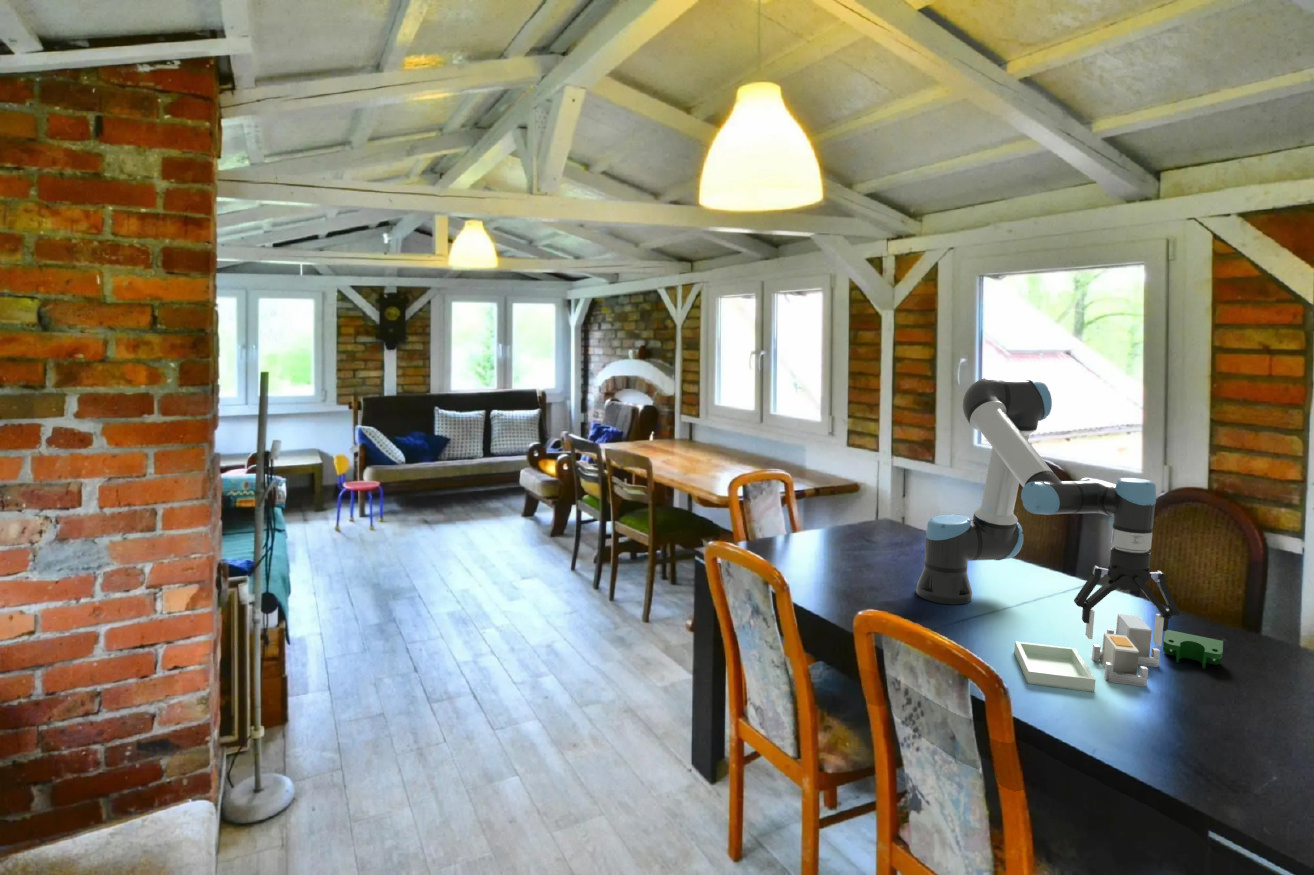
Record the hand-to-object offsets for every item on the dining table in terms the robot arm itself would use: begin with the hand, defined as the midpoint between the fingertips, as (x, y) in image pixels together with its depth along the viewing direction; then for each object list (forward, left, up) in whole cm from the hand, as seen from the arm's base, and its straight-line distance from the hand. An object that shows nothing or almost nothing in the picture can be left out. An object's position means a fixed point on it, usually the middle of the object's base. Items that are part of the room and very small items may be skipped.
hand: (1122, 640), depth 169 cm
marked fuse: (0, 0, -8) cm, 8 cm away
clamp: (+18, +12, -8) cm, 23 cm away
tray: (-15, -4, -8) cm, 17 cm away
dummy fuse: (+6, +12, -8) cm, 16 cm away
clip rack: (+3, +6, -7) cm, 10 cm away
